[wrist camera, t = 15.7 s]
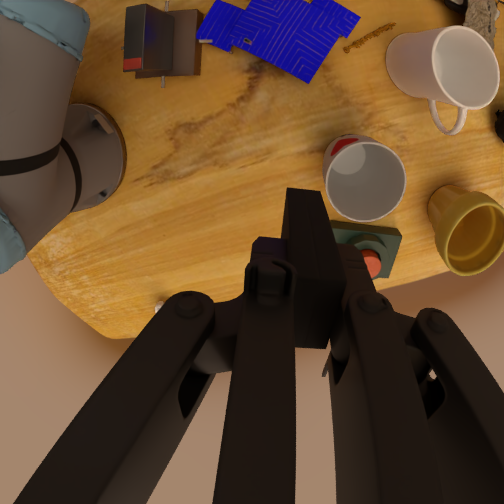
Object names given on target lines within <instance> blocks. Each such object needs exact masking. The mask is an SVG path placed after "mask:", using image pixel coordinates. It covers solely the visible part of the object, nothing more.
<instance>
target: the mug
mask: <svg viewBox="0 0 504 504" xmlns="http://www.w3.org/2000/svg"><path fill="white" fill-rule="evenodd" d="M386 67H387V71H388V73H389V76H390V78H391V79H392V81H393V82H394V84H395V85H396V86H397V87H398V88H399V89H400V90H401V91H403V92H404V93H406V94H408V95H410V96H412V97H416V98H427V100H428V104H429V109H430V112H431V115H432V118H433V120H434V122H435V124H436V126H437V127H438V129H439V130H440V131H441V132H442V133H444V134H446V135H455V134H457V133H458V132H460V130H461V129H462V127H463V125H464V123H465V120H466V115H467V110H468V109H470V110H476V109H481V108H483V107H485V106H487V105H488V104H489V103H490V102H491V101H492V100H493V99H494V97H495V95H496V93H497V91H498V87H499V81H500V73H499V66H498V62H497V59H496V56H495V54H494V52H493V50H492V48H491V47H490V45H489V44H488V42H487V41H486V40H485V39H484V38H483V37H482V36H481V35H480V34H478V33H477V32H476V31H474V30H472V29H470V28H468V27H464V26H449V27H443V28H437V29H432V30H427V31H422V32H417V33H404V34H401V35H399V36H397V37H396V38H394V39H393V40H392V42H391V43H390V44H389V46H388V49H387V52H386ZM436 101H440V102H444V103H447V104H451V105H454V106H458V117H457V121H456V124H455V126H454V128H453V129H452V130H450V131H448V130H447V129H446V128H445V127H444V126H443V125H442V123H441V121H440V119H439V116H438V113H437V109H436Z"/></svg>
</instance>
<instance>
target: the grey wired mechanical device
mask: <svg viewBox="0 0 504 504" xmlns="http://www.w3.org/2000/svg"><path fill="white" fill-rule="evenodd" d="M444 1H445V5H446V6H447V7H449V8H450V9H451V10H453V11H455V12H457V13H460V14H463V15H466V12H467V10H468V0H444ZM498 2H500V3H502V4H504V2H502V1H500V0H495V4H496V7H497V3H498ZM497 12H498V13H497V14H496V16H495V18H494V19H495V21H496V19H497V18H498V17H499V15H500V11H499V10H498V9H497Z"/></svg>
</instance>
